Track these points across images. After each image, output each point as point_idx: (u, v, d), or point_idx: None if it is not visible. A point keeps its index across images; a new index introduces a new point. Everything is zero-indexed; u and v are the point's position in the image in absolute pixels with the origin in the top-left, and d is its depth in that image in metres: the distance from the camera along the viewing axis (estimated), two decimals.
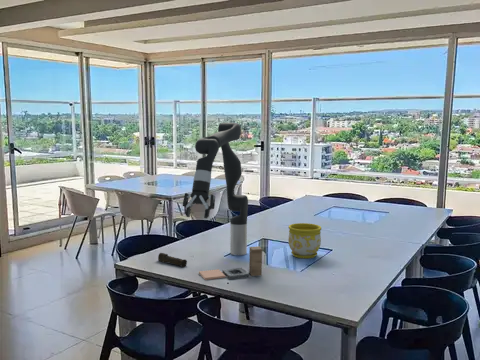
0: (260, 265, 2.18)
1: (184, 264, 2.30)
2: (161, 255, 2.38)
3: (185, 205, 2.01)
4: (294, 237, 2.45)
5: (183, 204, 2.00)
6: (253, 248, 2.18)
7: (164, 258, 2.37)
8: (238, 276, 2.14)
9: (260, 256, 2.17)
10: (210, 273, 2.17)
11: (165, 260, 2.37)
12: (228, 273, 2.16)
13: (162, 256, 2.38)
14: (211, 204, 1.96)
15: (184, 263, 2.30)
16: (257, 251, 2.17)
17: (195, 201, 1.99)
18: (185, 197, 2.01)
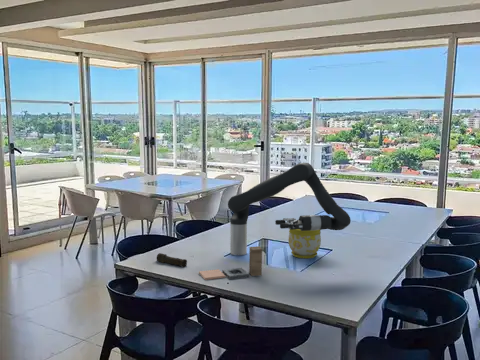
0: (260, 265, 2.18)
1: (184, 264, 2.31)
2: (160, 255, 2.37)
3: (291, 227, 2.15)
4: (294, 237, 2.45)
5: (292, 229, 2.14)
6: (253, 248, 2.18)
7: (163, 258, 2.36)
8: (238, 276, 2.14)
9: (260, 256, 2.17)
10: (210, 273, 2.17)
11: (164, 260, 2.36)
12: (228, 273, 2.16)
13: (161, 256, 2.37)
14: None
15: (185, 263, 2.31)
16: (257, 251, 2.17)
17: None
18: None
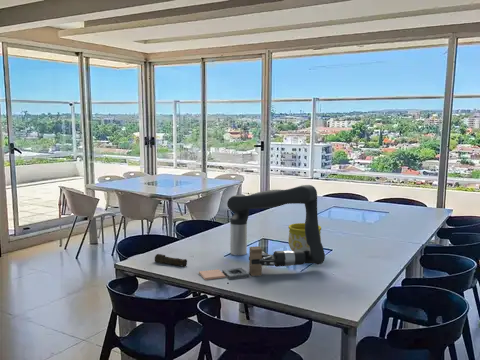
0: (260, 265, 2.18)
1: (185, 264, 2.31)
2: (158, 256, 2.36)
3: None
4: (294, 237, 2.45)
5: (262, 265, 2.15)
6: (253, 248, 2.18)
7: (162, 259, 2.35)
8: (238, 276, 2.14)
9: (260, 256, 2.17)
10: (210, 273, 2.17)
11: (163, 261, 2.35)
12: (228, 273, 2.16)
13: (160, 257, 2.36)
14: None
15: (185, 263, 2.31)
16: (257, 251, 2.17)
17: None
18: None
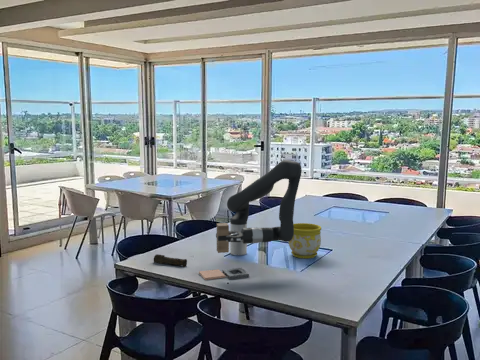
0: (227, 242, 2.14)
1: (185, 264, 2.31)
2: (158, 257, 2.35)
3: None
4: (294, 237, 2.45)
5: None
6: (220, 224, 2.14)
7: (162, 259, 2.35)
8: (238, 276, 2.14)
9: (227, 232, 2.14)
10: (210, 273, 2.17)
11: (163, 261, 2.34)
12: (228, 273, 2.16)
13: (159, 257, 2.35)
14: None
15: (185, 263, 2.31)
16: (224, 227, 2.13)
17: None
18: None
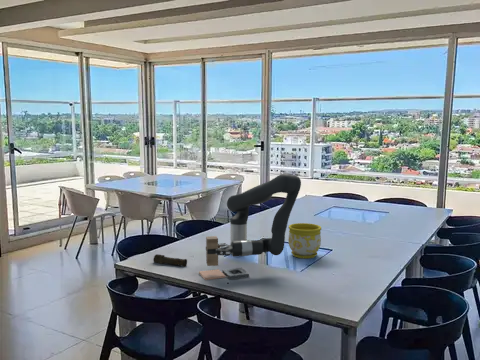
0: (216, 255, 2.14)
1: (185, 263, 2.31)
2: (158, 257, 2.35)
3: None
4: (294, 237, 2.45)
5: None
6: (209, 238, 2.14)
7: (162, 259, 2.35)
8: (238, 276, 2.14)
9: (216, 246, 2.14)
10: (210, 273, 2.17)
11: (163, 261, 2.34)
12: (228, 273, 2.16)
13: (159, 257, 2.35)
14: None
15: (186, 263, 2.31)
16: (213, 240, 2.13)
17: None
18: None
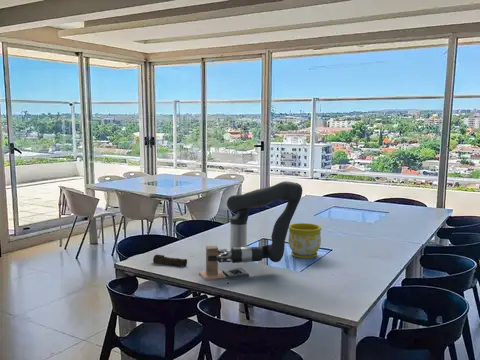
0: (216, 264, 2.15)
1: (185, 263, 2.31)
2: (158, 257, 2.35)
3: None
4: (294, 237, 2.45)
5: (219, 262, 2.11)
6: (209, 247, 2.15)
7: (161, 259, 2.34)
8: (238, 276, 2.14)
9: (216, 255, 2.14)
10: None
11: (163, 261, 2.34)
12: (228, 273, 2.16)
13: (159, 258, 2.35)
14: None
15: (186, 263, 2.31)
16: (213, 250, 2.14)
17: None
18: None
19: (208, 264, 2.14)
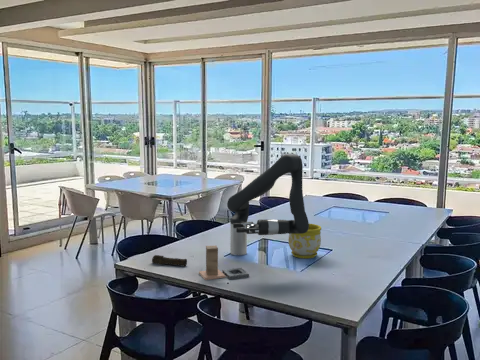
0: (216, 264, 2.15)
1: (185, 263, 2.31)
2: (157, 257, 2.34)
3: None
4: (294, 237, 2.45)
5: (248, 233, 2.12)
6: (209, 247, 2.15)
7: (161, 260, 2.34)
8: (238, 276, 2.14)
9: (216, 255, 2.14)
10: None
11: (162, 262, 2.34)
12: (228, 273, 2.16)
13: (158, 258, 2.34)
14: None
15: (186, 262, 2.32)
16: (213, 250, 2.14)
17: None
18: None
19: (208, 264, 2.14)
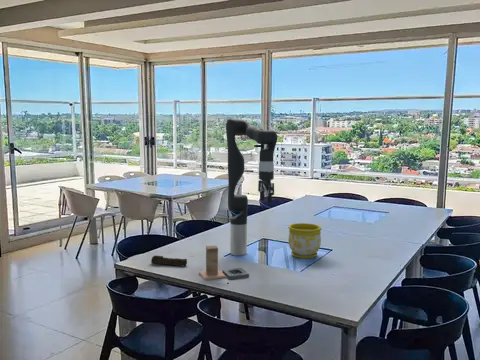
0: (216, 264, 2.15)
1: (186, 263, 2.32)
2: (156, 258, 2.34)
3: None
4: (294, 237, 2.45)
5: (273, 193, 2.24)
6: (209, 247, 2.15)
7: (161, 260, 2.33)
8: (238, 276, 2.14)
9: (216, 255, 2.14)
10: None
11: (162, 262, 2.33)
12: (228, 273, 2.16)
13: (158, 258, 2.33)
14: None
15: (186, 262, 2.32)
16: (213, 250, 2.14)
17: None
18: None
19: (208, 264, 2.14)
